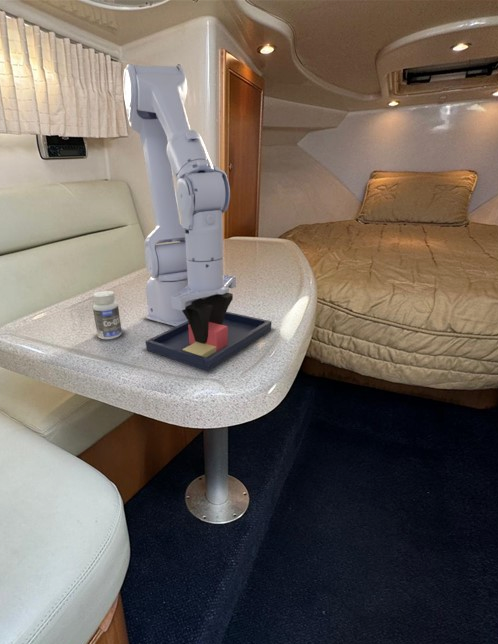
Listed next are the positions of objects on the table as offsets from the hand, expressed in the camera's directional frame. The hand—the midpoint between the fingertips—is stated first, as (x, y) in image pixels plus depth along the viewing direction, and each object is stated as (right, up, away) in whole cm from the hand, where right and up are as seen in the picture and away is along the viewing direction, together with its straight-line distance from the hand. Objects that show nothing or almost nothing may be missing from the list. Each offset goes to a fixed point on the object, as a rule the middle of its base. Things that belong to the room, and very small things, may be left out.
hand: (207, 337), depth 62 cm
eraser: (0, -1, +1) cm, 1 cm away
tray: (+1, 0, +4) cm, 4 cm away
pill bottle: (-19, +1, +9) cm, 20 cm away
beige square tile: (-2, -3, -2) cm, 4 cm away
